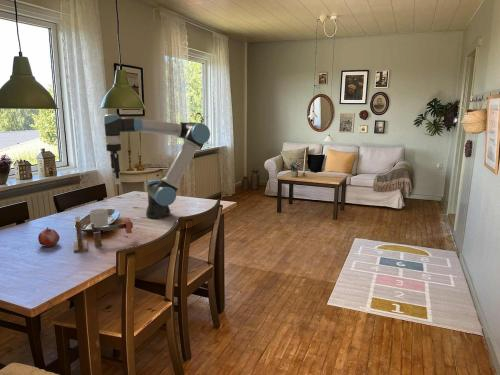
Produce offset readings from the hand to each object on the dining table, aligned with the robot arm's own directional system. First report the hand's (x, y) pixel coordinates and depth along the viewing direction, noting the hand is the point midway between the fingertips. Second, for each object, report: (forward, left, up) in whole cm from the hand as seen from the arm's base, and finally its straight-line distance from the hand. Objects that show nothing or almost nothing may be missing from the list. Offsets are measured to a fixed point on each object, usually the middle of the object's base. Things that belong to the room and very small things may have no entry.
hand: (116, 181), depth 204 cm
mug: (+10, -2, -27) cm, 29 cm away
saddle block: (+13, +23, -27) cm, 38 cm away
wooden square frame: (+21, +23, -27) cm, 41 cm away
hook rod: (+6, +23, -22) cm, 32 cm away
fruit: (+35, +14, -27) cm, 46 cm away
